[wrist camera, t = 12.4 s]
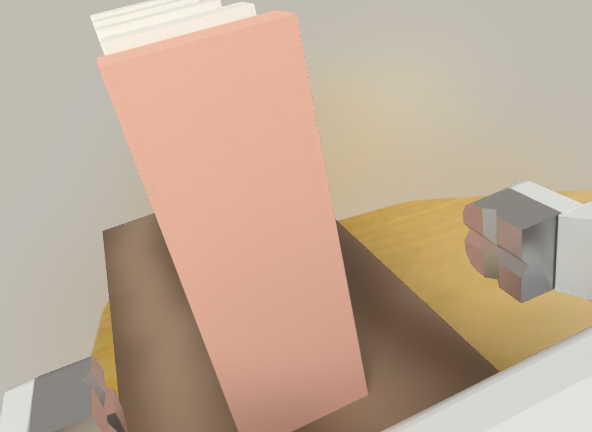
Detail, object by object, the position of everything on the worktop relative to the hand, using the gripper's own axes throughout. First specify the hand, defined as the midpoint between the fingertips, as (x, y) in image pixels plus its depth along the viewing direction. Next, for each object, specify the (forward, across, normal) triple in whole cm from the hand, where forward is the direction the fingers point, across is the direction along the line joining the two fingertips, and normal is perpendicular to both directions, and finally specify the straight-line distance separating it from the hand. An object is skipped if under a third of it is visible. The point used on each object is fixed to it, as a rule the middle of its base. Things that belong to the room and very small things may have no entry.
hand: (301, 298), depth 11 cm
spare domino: (+6, 0, -9) cm, 11 cm away
